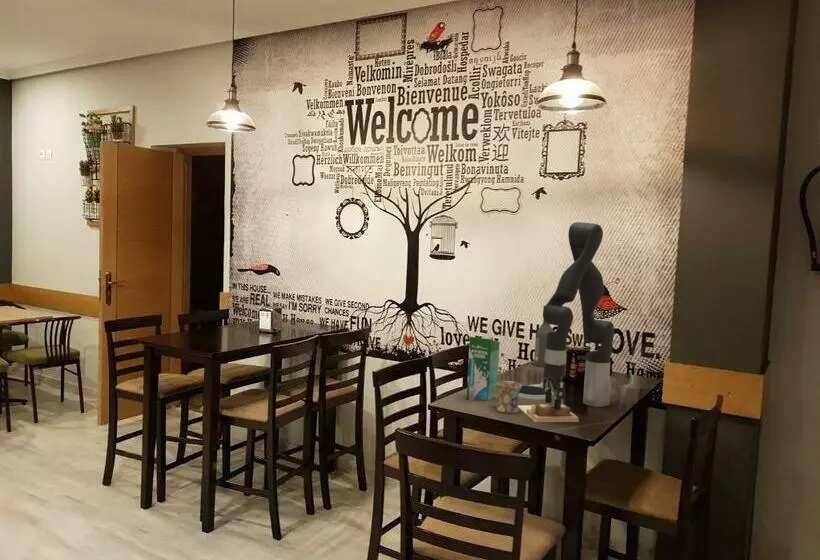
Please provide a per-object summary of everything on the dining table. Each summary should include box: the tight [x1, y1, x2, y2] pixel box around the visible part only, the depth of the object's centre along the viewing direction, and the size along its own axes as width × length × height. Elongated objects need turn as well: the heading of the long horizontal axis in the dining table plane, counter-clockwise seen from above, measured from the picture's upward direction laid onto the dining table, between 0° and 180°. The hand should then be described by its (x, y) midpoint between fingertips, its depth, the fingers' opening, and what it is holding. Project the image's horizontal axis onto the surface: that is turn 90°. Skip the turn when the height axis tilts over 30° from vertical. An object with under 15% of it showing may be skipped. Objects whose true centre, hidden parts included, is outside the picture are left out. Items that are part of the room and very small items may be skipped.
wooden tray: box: [518, 404, 580, 423], centre depth 232 cm, size 16×20×6 cm
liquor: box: [533, 305, 555, 368], centre depth 317 cm, size 9×9×30 cm
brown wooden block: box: [534, 403, 571, 417], centre depth 227 cm, size 11×6×4 cm, turn 99°
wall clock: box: [518, 382, 554, 401], centre depth 262 cm, size 18×4×25 cm
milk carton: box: [466, 335, 501, 401], centre depth 251 cm, size 9×9×25 cm
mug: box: [491, 380, 523, 414], centre depth 235 cm, size 12×9×11 cm
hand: (552, 406), depth 227 cm, fingers open, 8 cm apart
